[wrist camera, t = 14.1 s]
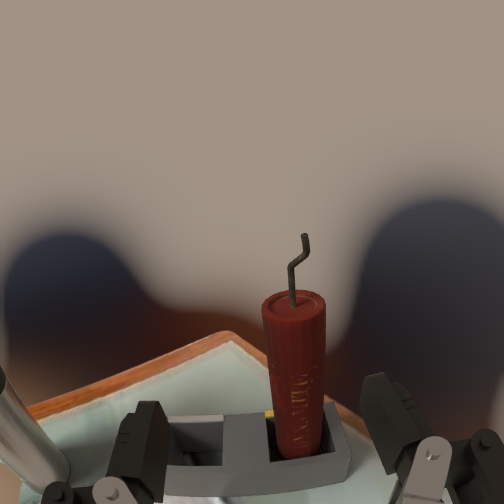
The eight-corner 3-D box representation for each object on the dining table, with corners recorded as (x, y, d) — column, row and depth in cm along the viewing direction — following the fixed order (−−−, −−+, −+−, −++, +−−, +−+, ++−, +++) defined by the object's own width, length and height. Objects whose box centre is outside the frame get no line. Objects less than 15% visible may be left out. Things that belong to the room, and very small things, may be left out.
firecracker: (283, 482, 28) (256, 247, 19) (277, 453, 33) (249, 228, 23) (322, 474, 28) (333, 236, 19) (314, 446, 33) (312, 220, 24)
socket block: (166, 494, 27) (144, 469, 24) (173, 446, 35) (157, 415, 33) (344, 481, 27) (352, 454, 24) (330, 432, 35) (334, 399, 32)
